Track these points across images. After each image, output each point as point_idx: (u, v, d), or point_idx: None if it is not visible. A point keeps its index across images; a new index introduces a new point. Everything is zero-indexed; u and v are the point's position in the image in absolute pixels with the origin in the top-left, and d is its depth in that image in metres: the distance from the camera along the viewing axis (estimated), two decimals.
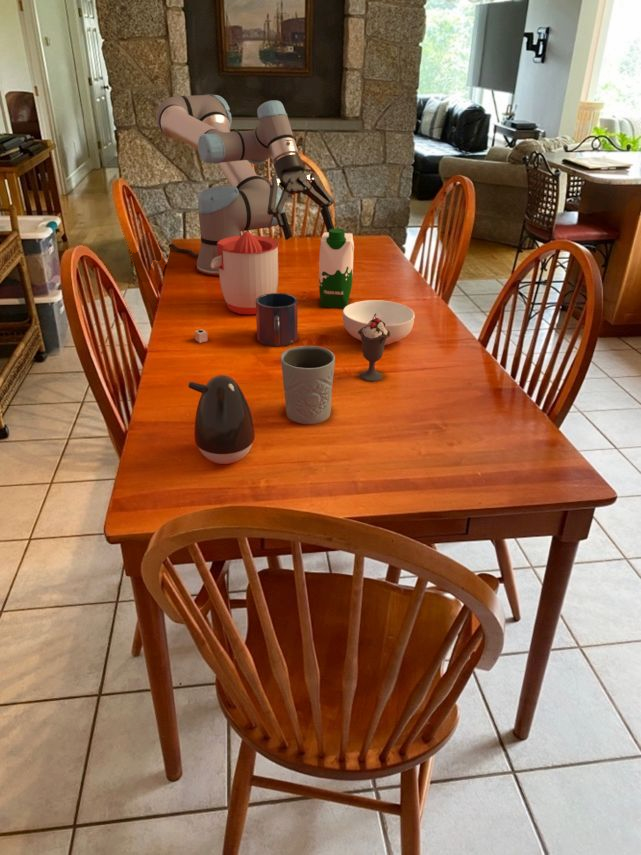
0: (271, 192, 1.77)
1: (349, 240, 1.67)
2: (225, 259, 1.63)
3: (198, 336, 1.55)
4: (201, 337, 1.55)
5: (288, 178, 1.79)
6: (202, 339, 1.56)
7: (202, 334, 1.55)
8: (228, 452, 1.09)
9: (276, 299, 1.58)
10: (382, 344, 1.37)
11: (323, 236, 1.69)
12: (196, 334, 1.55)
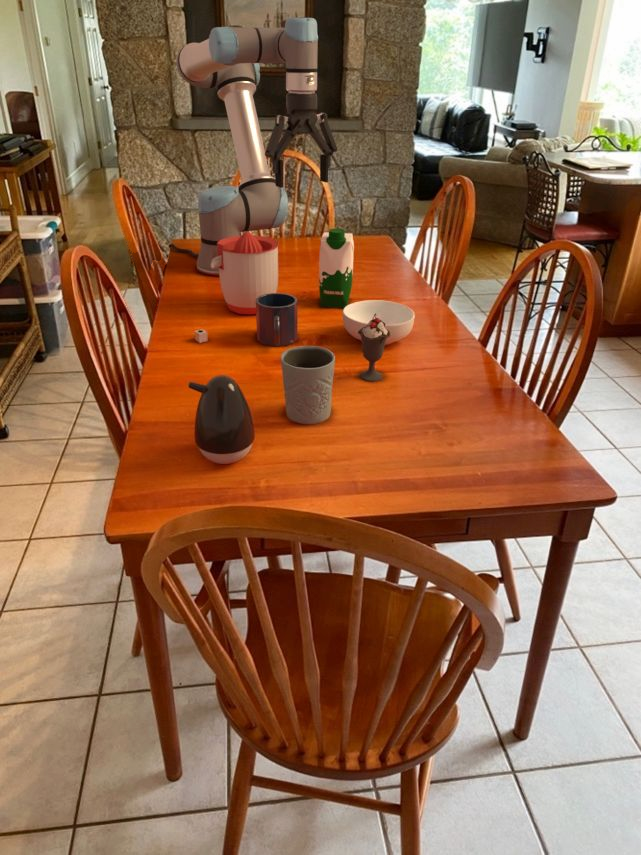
0: (275, 132, 1.61)
1: (349, 240, 1.67)
2: (225, 259, 1.63)
3: (198, 336, 1.55)
4: (201, 337, 1.55)
5: (297, 118, 1.62)
6: (202, 339, 1.56)
7: (202, 334, 1.55)
8: (228, 452, 1.09)
9: (276, 299, 1.58)
10: (382, 344, 1.37)
11: (323, 236, 1.69)
12: (196, 334, 1.55)
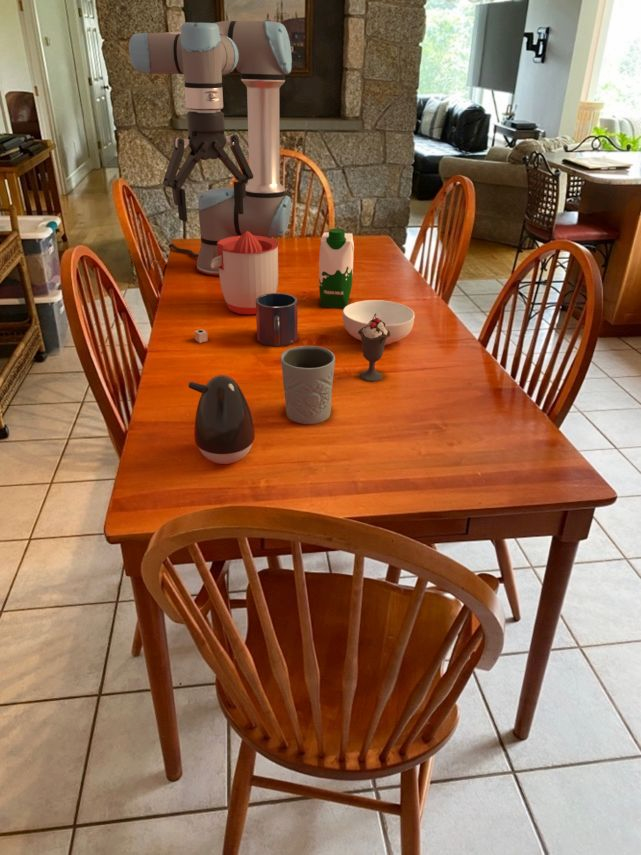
0: (173, 157, 1.36)
1: (349, 240, 1.67)
2: (225, 259, 1.63)
3: (198, 336, 1.55)
4: (201, 337, 1.55)
5: (200, 141, 1.37)
6: (202, 339, 1.56)
7: (202, 334, 1.55)
8: (228, 452, 1.09)
9: (276, 299, 1.58)
10: (382, 344, 1.37)
11: (323, 236, 1.69)
12: (196, 334, 1.55)
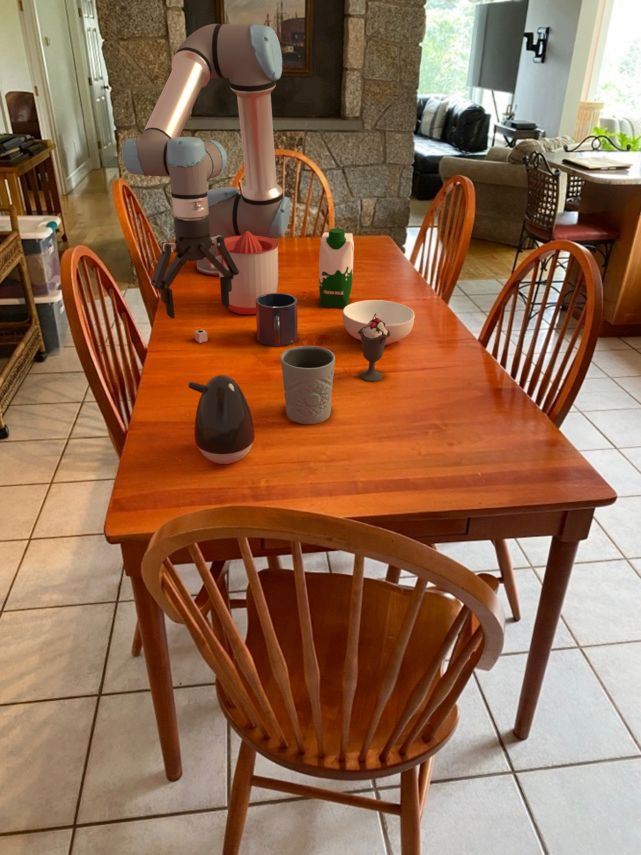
0: (161, 261, 1.42)
1: (349, 240, 1.67)
2: None
3: (198, 336, 1.55)
4: (201, 337, 1.55)
5: (187, 245, 1.43)
6: (202, 339, 1.56)
7: (202, 334, 1.55)
8: (228, 452, 1.09)
9: (276, 299, 1.58)
10: (382, 344, 1.37)
11: (323, 236, 1.69)
12: (196, 334, 1.56)
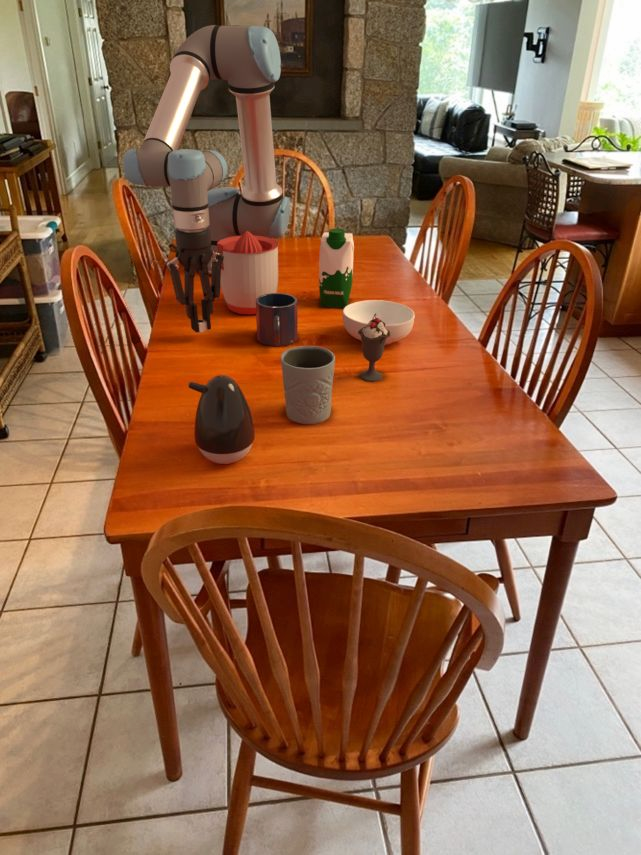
0: (173, 280, 1.46)
1: (349, 240, 1.67)
2: (225, 259, 1.63)
3: None
4: (201, 327, 1.54)
5: (188, 256, 1.44)
6: (202, 329, 1.55)
7: (202, 324, 1.54)
8: (228, 452, 1.09)
9: (276, 299, 1.58)
10: (382, 344, 1.37)
11: (323, 236, 1.69)
12: None
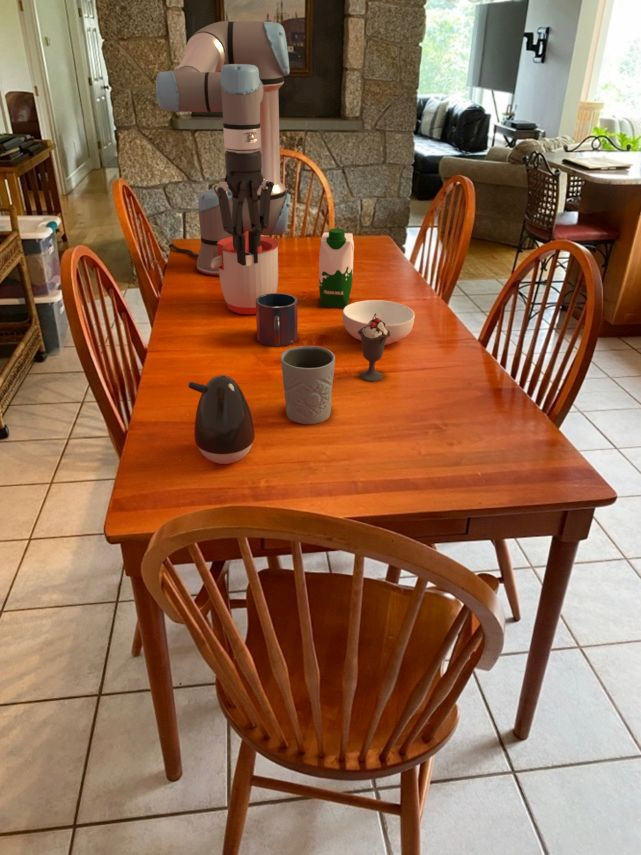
0: (222, 206, 1.39)
1: (349, 240, 1.67)
2: (225, 259, 1.63)
3: None
4: (248, 260, 1.47)
5: (238, 181, 1.37)
6: (248, 262, 1.47)
7: (249, 256, 1.47)
8: (228, 452, 1.09)
9: (276, 299, 1.58)
10: (382, 344, 1.37)
11: (323, 236, 1.69)
12: None
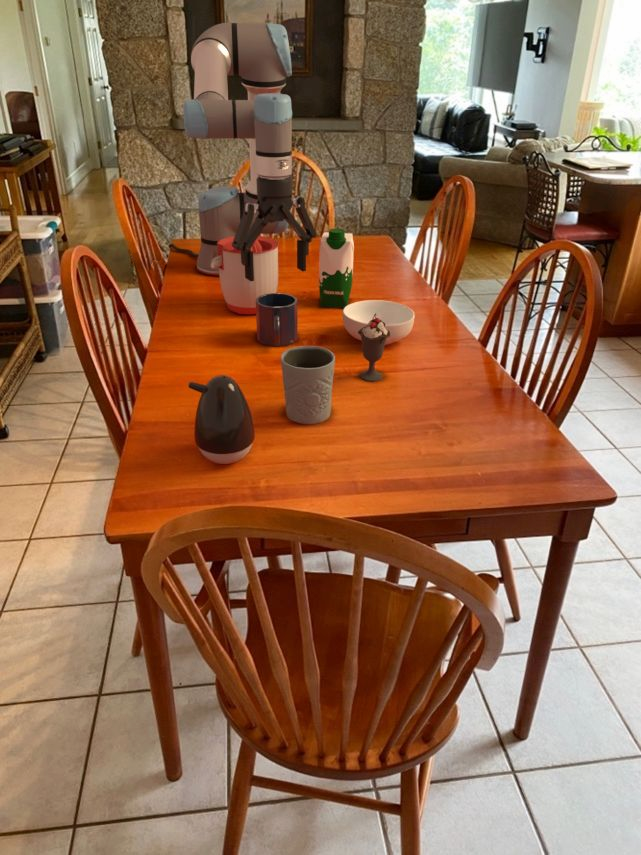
0: (243, 222, 1.40)
1: (349, 240, 1.67)
2: (225, 259, 1.63)
3: None
4: None
5: (269, 206, 1.41)
6: None
7: None
8: (228, 452, 1.09)
9: (276, 299, 1.58)
10: (382, 344, 1.37)
11: (323, 236, 1.69)
12: None
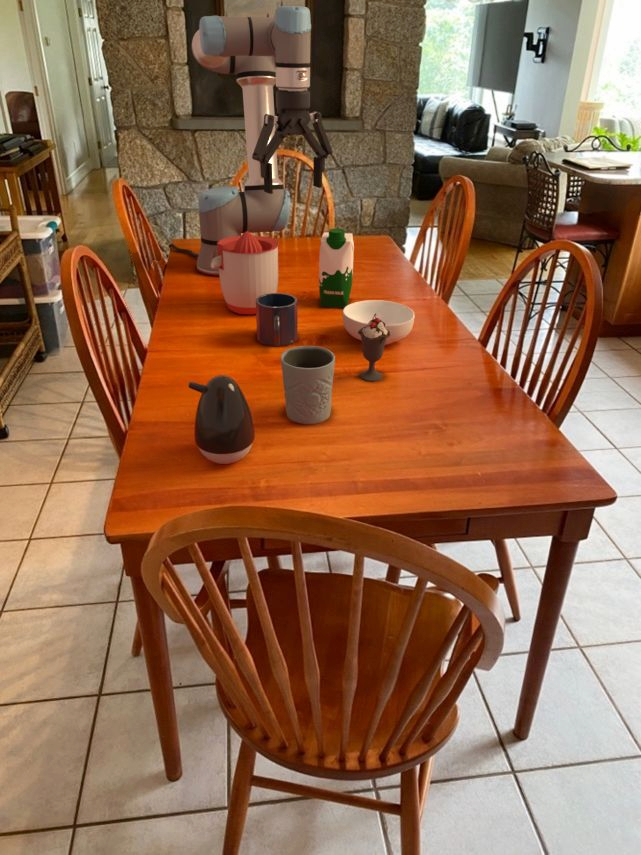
0: (263, 133, 1.47)
1: (349, 240, 1.67)
2: (225, 259, 1.63)
3: None
4: None
5: (288, 118, 1.47)
6: None
7: None
8: (228, 452, 1.09)
9: (276, 299, 1.58)
10: (382, 344, 1.37)
11: (323, 236, 1.69)
12: None
